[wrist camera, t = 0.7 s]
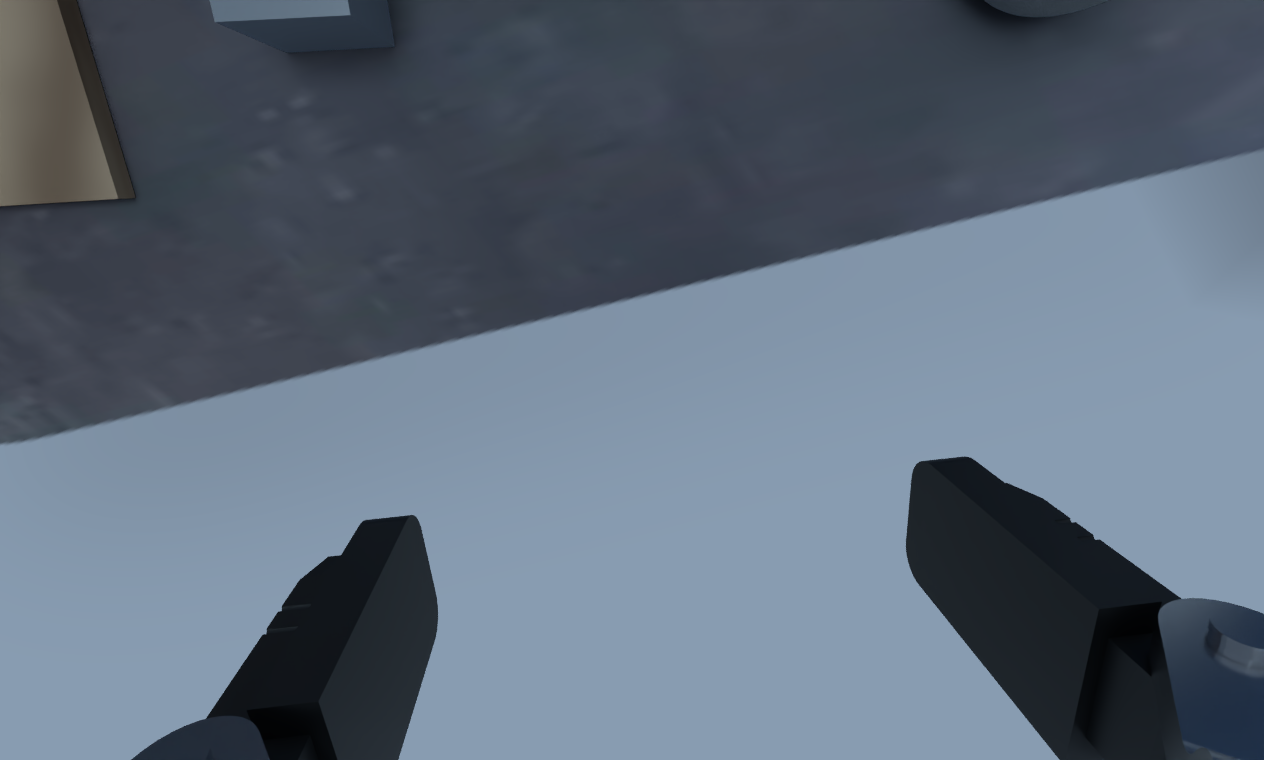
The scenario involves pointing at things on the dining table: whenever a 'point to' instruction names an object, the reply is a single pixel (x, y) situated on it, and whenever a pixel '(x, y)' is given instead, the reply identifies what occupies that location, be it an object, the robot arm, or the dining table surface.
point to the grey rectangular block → (309, 23)
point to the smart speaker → (1042, 6)
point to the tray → (54, 110)
